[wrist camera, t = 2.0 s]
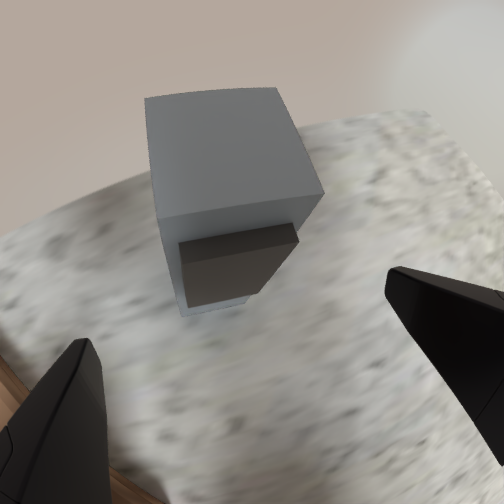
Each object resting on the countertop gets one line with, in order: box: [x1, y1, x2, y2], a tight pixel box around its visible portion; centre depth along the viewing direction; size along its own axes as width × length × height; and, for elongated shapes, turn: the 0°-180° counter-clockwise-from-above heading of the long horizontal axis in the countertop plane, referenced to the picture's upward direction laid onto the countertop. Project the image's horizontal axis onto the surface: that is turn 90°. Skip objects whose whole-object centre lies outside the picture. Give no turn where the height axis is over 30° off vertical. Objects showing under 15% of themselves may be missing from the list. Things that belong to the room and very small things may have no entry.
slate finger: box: [145, 88, 325, 317], centre depth 13 cm, size 5×4×13 cm
